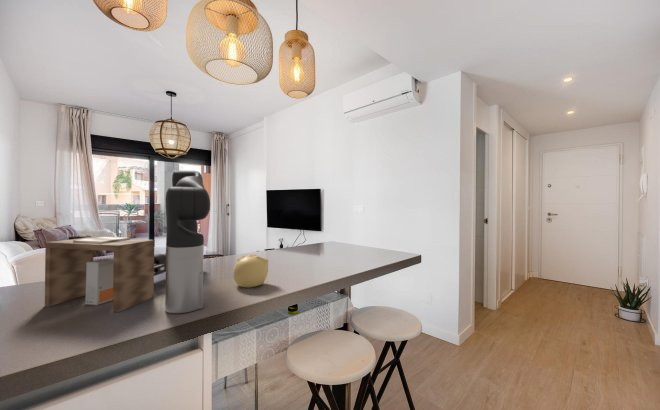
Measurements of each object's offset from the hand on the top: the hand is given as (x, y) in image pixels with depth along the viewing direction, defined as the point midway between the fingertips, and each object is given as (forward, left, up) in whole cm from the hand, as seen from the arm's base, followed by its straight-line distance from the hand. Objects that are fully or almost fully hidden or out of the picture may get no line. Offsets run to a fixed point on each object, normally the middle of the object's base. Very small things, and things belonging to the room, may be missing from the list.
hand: (120, 274), depth 86 cm
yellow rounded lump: (-39, +4, -7) cm, 40 cm away
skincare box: (+3, +5, -7) cm, 9 cm away
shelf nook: (+3, +5, -7) cm, 9 cm away
